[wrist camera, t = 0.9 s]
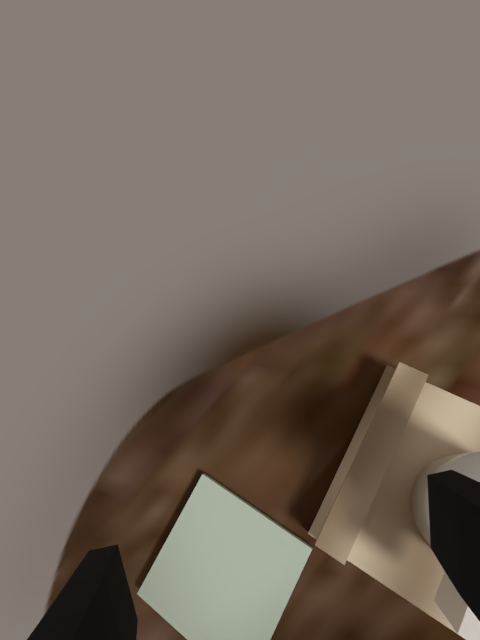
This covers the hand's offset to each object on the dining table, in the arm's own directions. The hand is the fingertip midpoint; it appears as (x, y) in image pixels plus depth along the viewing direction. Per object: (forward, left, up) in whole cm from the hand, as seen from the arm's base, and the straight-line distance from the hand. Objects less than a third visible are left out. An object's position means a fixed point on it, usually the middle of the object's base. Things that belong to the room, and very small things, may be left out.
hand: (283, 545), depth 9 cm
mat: (+3, +6, -13) cm, 15 cm away
